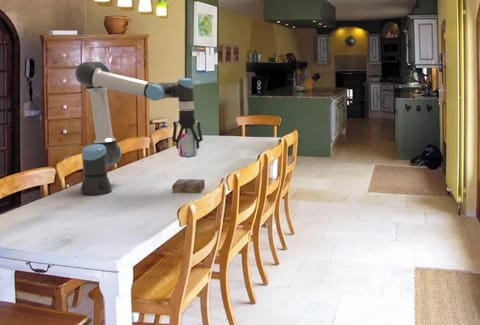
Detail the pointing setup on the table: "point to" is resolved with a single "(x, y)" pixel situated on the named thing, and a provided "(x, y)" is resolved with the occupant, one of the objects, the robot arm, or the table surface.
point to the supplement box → (187, 145)
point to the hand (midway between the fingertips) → (188, 155)
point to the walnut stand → (188, 186)
